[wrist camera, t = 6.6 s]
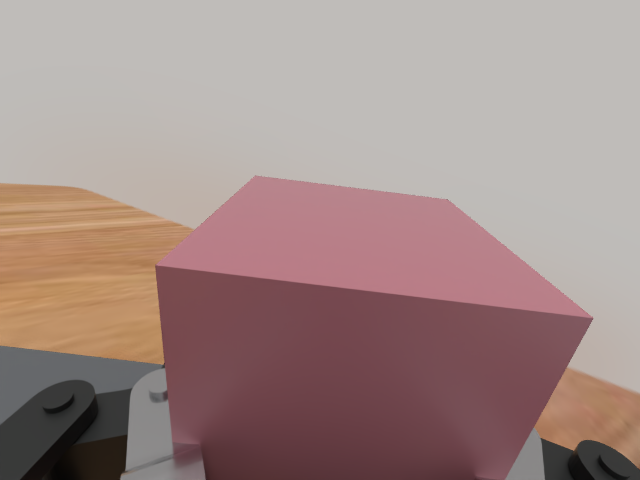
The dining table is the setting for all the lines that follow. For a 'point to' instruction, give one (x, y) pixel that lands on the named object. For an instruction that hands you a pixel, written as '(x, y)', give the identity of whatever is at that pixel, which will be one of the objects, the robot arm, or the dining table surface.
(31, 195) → the dining table surface
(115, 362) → the mat
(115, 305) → the dining table surface
